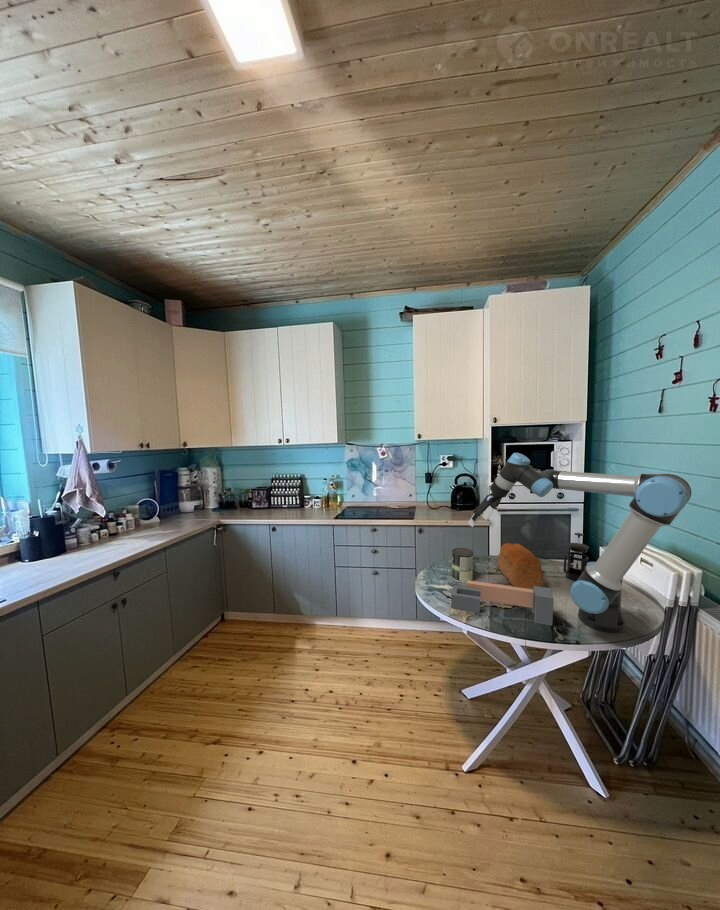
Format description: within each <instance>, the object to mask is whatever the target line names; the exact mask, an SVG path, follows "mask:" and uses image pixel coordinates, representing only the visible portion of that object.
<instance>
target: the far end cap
mask: <svg viewBox="0 0 720 910" xmlns="http://www.w3.org/2000/svg"><path fill="white" fill-rule="evenodd" d="M480 591H481V590H480V589H474V588H467V587H465V586H460V585H453V586H452V589H451V596H450V598H451V600H450V609H453V610H458V611H465V612H471V613H476V614H480V613H481V600H480Z"/></svg>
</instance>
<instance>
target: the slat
mask: <svg viewBox="0 0 720 910" xmlns="http://www.w3.org/2000/svg"><path fill="white" fill-rule="evenodd" d="M465 584H466V585H465V586H466V587H467V588H474V589H480V590H481V591H480V601H486V602H492V603H499V604H505V605H511V606H512V605H513V606H517V607H524V608H529V609H530V608H531V609H532V605H533V590H532V589H525V588H518V587H514V586H510V585H502V584H497V583H488V582H484V581H483V582H482V581H477V580H476V581H475V580H472V581H469V580H467V583H465Z"/></svg>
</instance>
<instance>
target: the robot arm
mask: <svg viewBox="0 0 720 910" xmlns="http://www.w3.org/2000/svg"><path fill="white" fill-rule="evenodd" d="M530 464H531V460H530V459H529V458H528V457H527V456H526V455H524V454H522V453H519V452H513V453H512V454H511V456H510V457H509V458H508V459H507V462H506V463H505V464H504V466H503V467H502V469H501V470H500V471H499V473H497V474H496V478H495V479H494V481H493V482H492V484H491V485H490V487H489V490H490V492H491V493H489V494H487V495H486V496H485V497H484V498H483V500H482V501H481V502H480V503H479V504H478V506H477V507H476V508H475V509H473V510H472V513H473V514H472V516H471V518H470V519H469V520H468V522H467V524H468V525H469V526H470V527H471V528H473V527H475V525H476V524H477V522H478V521H479V519H480V518H481V517H482V518H483V519H484V520H485V521H487V520H488V519H489V518H490V516H491V515H492V514H493V512H494V510H495V511H496V510H497V509H498V507H499V505H500V503H501V501H502V499H503V498H506V497H507V496H508V495H509V493H510V491H511V490H512V489H513V488H514V486H515V484H516V483H517V482H519V483H520V484H521V485H522V486H524V488H526V489H528V490H529V492H532V493H533V494H535V495H536V496H537V497H538V498H543V497H545V496H546V495H548V494H549V493H550V492H551V491H552V489H555V490H565V491H567V490H568V491H576V492H577V491H578V492H584V493H593V494H595V493H596V494H604V495H612V496H622V497H631V498H632V497H633V498H632V500H631V501H630V503H629V504H628V507H629V510H630V512H629V514H628V516H626V518H625V520H624V521H623V522H622V523H621V526H620V527H619V528H618V530H617V531H616V532H615V535H614V536H613V537H612V539H611V540H610V541H609V543H608V544H607V546H606V547H605V548H604V550H603V551H602V553H601V555H600V556H599V557H598V559H597V560H596V561H587V566H586V569H585V570H584V572H583V573H582V574H581V576H580V577H579V579H578V580H577V581H573V583H572V584H571V586H570V592H569V593H570V596H571V599H572V601H573V603H574V604H575V606H577V607H578V608H579V609H578V619H579V621H580V622H582V623H583V624H584V625H586V626H588V627H590V628H592V629H594V630H596V631H597V630H598V631H600V632H605V633H611V634H612V633H614V634H617V633H616V632H619V633H622V632H624V631H625V630H624V629H626V621H625V617H624V614H623V611H622V607H621V606H622V603H621V602H622V590H623V579H624V577H625V575H626V574H627V572H629V570H630V569H631V567H632V566H633V564H634V563H635V562H636V561H637V560H638V558H639V556H640V555H641V554H642V553H643V552H644V550H645V548H646V547H647V545H648V544H649V543H650V542H651V540H652V539H653V538H654V536H655V535H657V533H658V531H659V529H660V528H661V527H667V526H670V525H671V524H673V523H672V522H673V521H674V520H675V519H676V517H677V516H678V515H679V513H680V512H681V511H682V510H683V509H684V508H685V507H686V505H687V503H688V502H689V501H690V499H691V496H692V488H691V486H690V484H689V482H688V481H686V479H684V478H683V477H682V476H679V475H676V474H671V473H658V474H657V473H653V474H652V473H640V474H638V475H624V474H623V475H622V474H608V473H594V472H581V471H579V472H578V471H567V470H566V471H565V470H564V471H562V470H555V469H545V470H541V471H538V470H537V471H536V469H533V468H532V467H531V466H530ZM623 630H624V631H623ZM621 631H622V632H621Z"/></svg>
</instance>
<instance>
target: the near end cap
mask: <svg viewBox="0 0 720 910" xmlns="http://www.w3.org/2000/svg"><path fill="white" fill-rule="evenodd" d="M554 602H555V601H554V596H553V593H552V591H551V589H550V587H544V586H543V587H538V586H533V605H532V608H531V609H532V610H531V613H532V614H533V615H534V623H535V624H541V625H544V626H545V625H547V626H550V627H551V626H553V621H554V620H553V619H554V618H553V617H554V616H553V615H554Z"/></svg>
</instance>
